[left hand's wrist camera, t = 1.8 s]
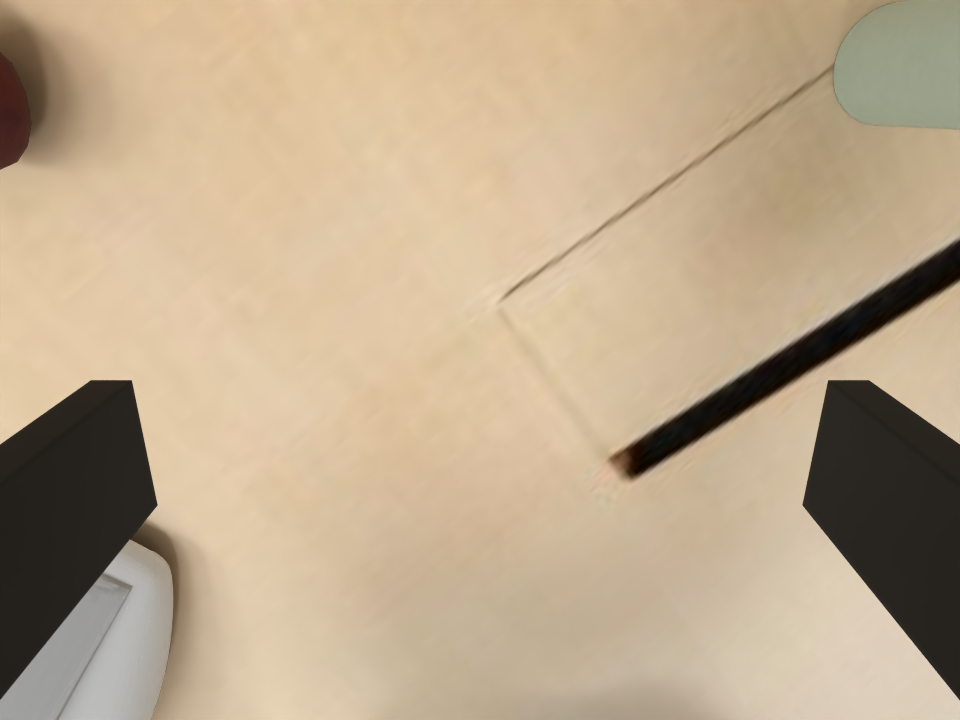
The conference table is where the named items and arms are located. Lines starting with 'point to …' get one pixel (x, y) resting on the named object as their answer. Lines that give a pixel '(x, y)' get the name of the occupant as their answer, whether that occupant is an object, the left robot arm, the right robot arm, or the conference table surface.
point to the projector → (104, 649)
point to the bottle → (903, 66)
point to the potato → (12, 115)
